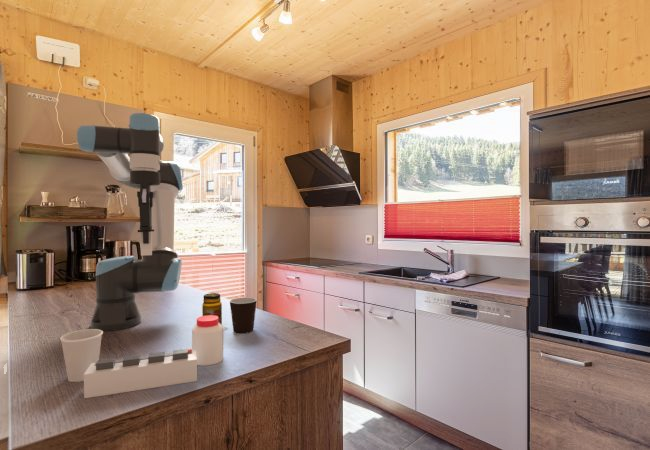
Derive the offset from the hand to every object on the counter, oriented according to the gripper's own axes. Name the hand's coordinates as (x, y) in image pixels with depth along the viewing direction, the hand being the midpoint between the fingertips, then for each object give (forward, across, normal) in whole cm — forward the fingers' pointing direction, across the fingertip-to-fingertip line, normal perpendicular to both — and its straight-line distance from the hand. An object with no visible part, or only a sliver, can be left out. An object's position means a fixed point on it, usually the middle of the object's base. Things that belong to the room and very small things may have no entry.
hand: (146, 254), depth 101 cm
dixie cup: (+27, -14, +13) cm, 33 cm away
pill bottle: (+27, -15, -15) cm, 34 cm away
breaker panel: (+26, -23, -1) cm, 35 cm away
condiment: (+27, +10, -18) cm, 34 cm away
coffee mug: (+27, +7, -29) cm, 40 cm away
